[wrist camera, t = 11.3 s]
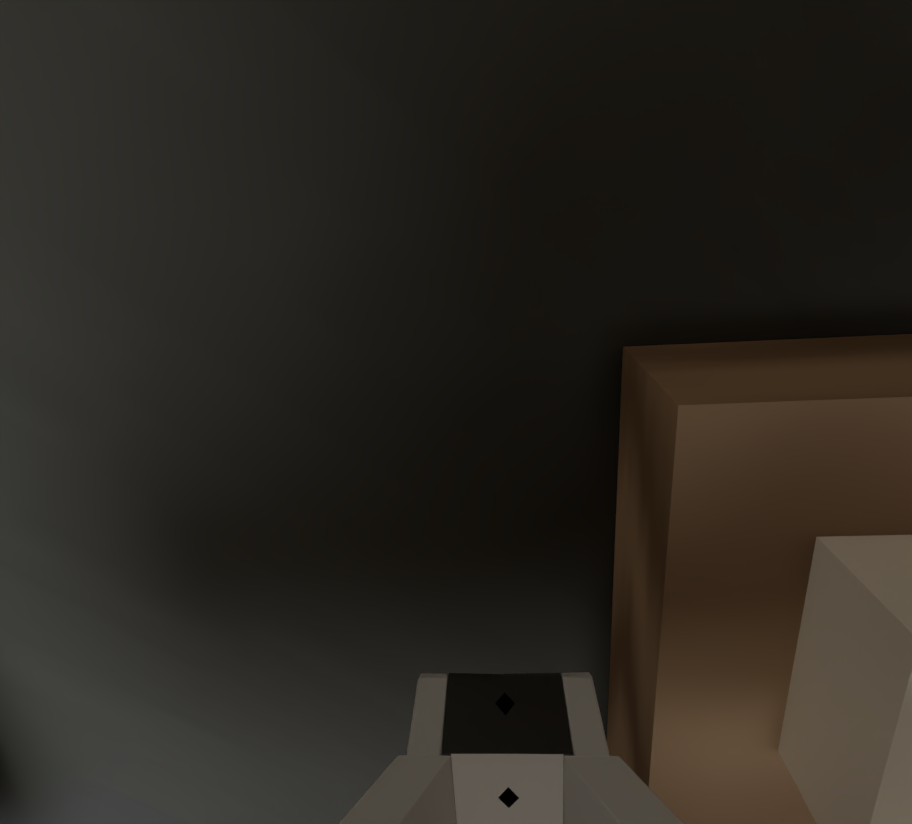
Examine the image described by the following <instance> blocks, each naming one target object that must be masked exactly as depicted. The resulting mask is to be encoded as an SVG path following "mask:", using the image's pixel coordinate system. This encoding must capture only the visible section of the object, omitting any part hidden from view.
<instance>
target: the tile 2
mask: <svg viewBox="0 0 912 824" xmlns="http://www.w3.org/2000/svg"><path fill="white" fill-rule="evenodd" d="M778 752H779V754H780V756H781V758H782V759H783V761H784V763H785V765H786V767H787V769H788V771H789V773H790V775H791V776H792V778H793V780H794V782H795V784H796V786H797V788H798V790H799V792H800V793H801V795H802V797H803V799H804V801H805V803H806V805H807V807H808V809H809V810H810V812H811V814H812V816H813V818H814V820H815V822H816V824H912V535H872V536H826V537H816V542H815V547H814V553H813V558H812V564H811V569H810V575H809V581H808V586H807V592H806V597H805V603H804V608H803V614H802V620H801V625H800V631H799V636H798V642H797V647H796V653H795V658H794V664H793V670H792V675H791V681H790V686H789V692H788V697H787V703H786V709H785V714H784V720H783V725H782V731H781V736H780V742H779V747H778Z"/></svg>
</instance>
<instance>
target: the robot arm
mask: <svg viewBox="0 0 912 824" xmlns="http://www.w3.org/2000/svg"><path fill="white" fill-rule="evenodd" d="M339 824H683V823H682V822H681V821H680V820H679V819H678V818H677V817H676V816H675V815H674V814H673V813H672V811H671V810H670V809H669V808H668V807H667V806H666V805H665V804H664V803H663V802H662V801H661V800H660V799H659V798H658V797H657V796H656V795H655V794H654V793H653V791H652V790H651V789H650V788H649V787H648V786H647V785H646V784H645V783H644V782H643V781H642V780H641V779H640V778H639V777H638V776H637V775H636V774H635V773H634V771H633V770H632V769H631V768H630V767H629V766H628V765H627V764H626V763H625V762H624V761H623V760H622V759H621V758H620V757H619V756H610V754H609V750H608V745H607V741H606V737H605V732H604V728H603V723H602V719H601V714H600V710H599V705H598V701H597V696H596V692H595V687H594V683H593V679H592V676H591V674H590V673H589V672H575V673H561V674H560V673H523V674H467V673H449V674H434V673H421V674H420V676H419V678H418V681H417V688H416V695H415V702H414V708H413V715H412V722H411V728H410V735H409V742H408V748H407V755H398V756H397V757H396V758H395V759H394V760H393V762H392V763H391V764H390V765H389V766H388V767H387V768H386V770H385V771H384V772H383V773H382V774H381V775H380V777H379V778H378V779H377V780H376V781H375V782H374V783H373V785H372V786H371V787H370V788H369V789H368V790H367V792H366V793H365V794H364V795H363V796H362V797H361V798H360V800H359V801H358V802H357V803H356V804H355V805H354V807H353V808H352V809H351V810H350V811H349V812H348V813H347V815H346V816H345V817H344V818H343V819H342V820H341V822H340V823H339Z"/></svg>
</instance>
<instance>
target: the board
mask: <svg viewBox="0 0 912 824" xmlns="http://www.w3.org/2000/svg"><path fill="white" fill-rule="evenodd" d="M872 535H912V334H897V335H874V336H852V337H829V338H807V339H785V340H762V341H740V342H717V343H695V344H673V345H650V346H628V347H623V359H622V383H621V407H620V431H619V456H618V480H617V504H616V528H615V552H614V576H613V601H612V625H611V649H610V673H609V697H608V721H607V745H608V750H609V754H610V756H619V757H620V758H621V759H622V760H623V761H624V762H625V763H626V764H627V765H628V766H629V767H630V768H631V769H632V770H633V771H634V773H635V774H636V775H637V776H638V777H639V778H640V779H641V780H642V781H643V782H644V783H645V784H646V785H647V786H648V787H649V788H650V789H651V790H652V791H653V793H654V794H655V795H656V796H657V797H658V798H659V799H660V800H661V801H662V802H663V803H664V804H665V805H666V806H667V807H668V808H669V809H670V810H671V811H672V813H673V814H674V815H675V816H676V817H677V818H678V819H679V820H680V821H681V822H682V823H683V824H816V822H815V820H814V818H813V816H812V814H811V812H810V810H809V809H808V807H807V805H806V803H805V801H804V799H803V797H802V795H801V793H800V792H799V790H798V788H797V786H796V784H795V782H794V780H793V778H792V776H791V775H790V773H789V771H788V769H787V767H786V765H785V763H784V761H783V759H782V758H781V756H780V754H779V752H778V747H779V742H780V736H781V731H782V725H783V720H784V714H785V709H786V703H787V697H788V692H789V686H790V681H791V675H792V670H793V664H794V658H795V653H796V647H797V642H798V636H799V631H800V625H801V620H802V614H803V608H804V603H805V597H806V592H807V586H808V581H809V575H810V569H811V564H812V558H813V553H814V547H815V542H816V537H826V536H872Z"/></svg>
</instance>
